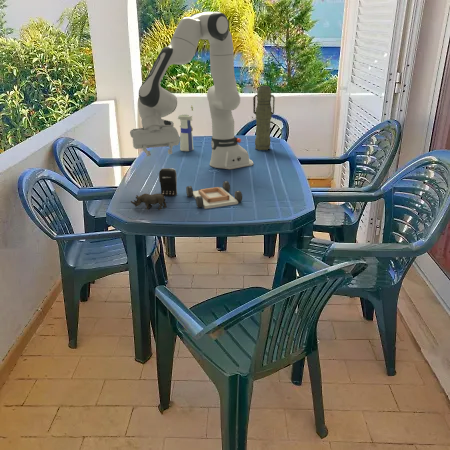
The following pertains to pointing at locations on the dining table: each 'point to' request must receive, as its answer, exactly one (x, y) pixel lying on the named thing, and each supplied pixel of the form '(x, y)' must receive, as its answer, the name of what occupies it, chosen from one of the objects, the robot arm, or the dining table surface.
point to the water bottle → (186, 133)
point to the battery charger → (168, 181)
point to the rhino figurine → (150, 200)
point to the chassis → (214, 196)
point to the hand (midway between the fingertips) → (159, 154)
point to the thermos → (263, 117)
